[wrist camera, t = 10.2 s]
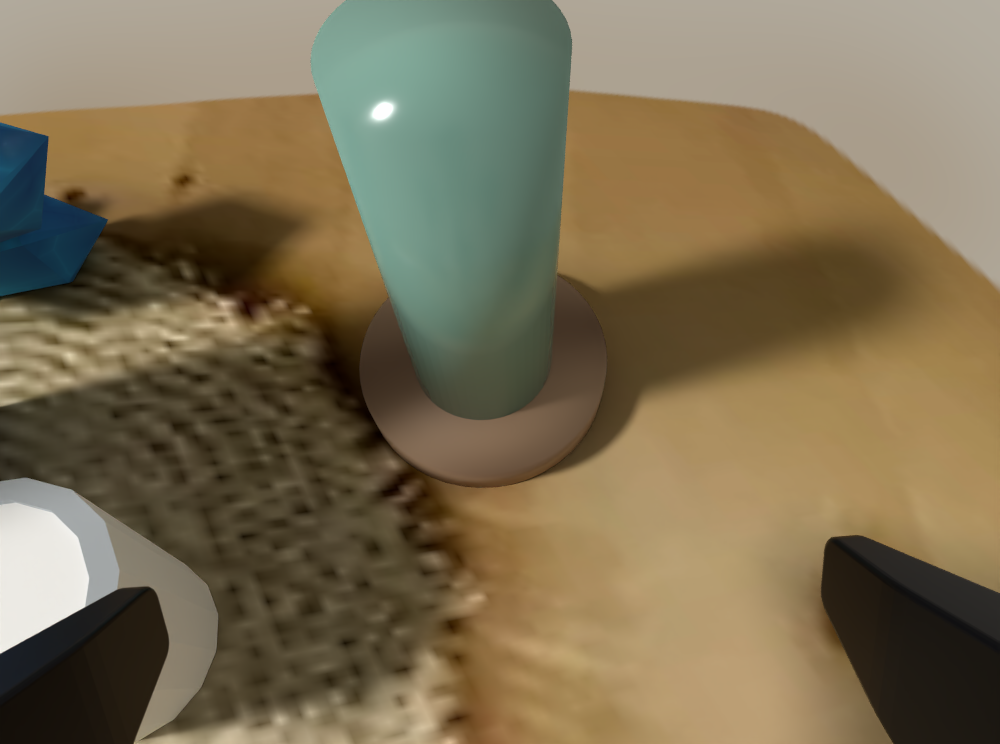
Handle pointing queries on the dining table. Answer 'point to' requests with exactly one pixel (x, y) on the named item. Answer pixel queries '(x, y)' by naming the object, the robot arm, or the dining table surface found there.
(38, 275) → the crystal
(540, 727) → the dining table surface
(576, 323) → the walnut base
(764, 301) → the dining table surface
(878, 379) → the dining table surface
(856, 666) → the robot arm
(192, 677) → the white cup
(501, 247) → the teal rounded cylinder
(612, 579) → the dining table surface
